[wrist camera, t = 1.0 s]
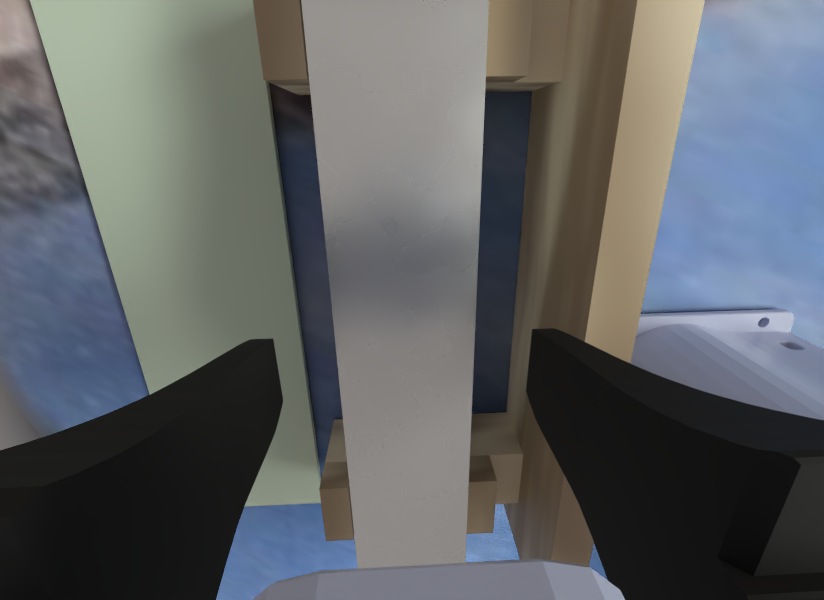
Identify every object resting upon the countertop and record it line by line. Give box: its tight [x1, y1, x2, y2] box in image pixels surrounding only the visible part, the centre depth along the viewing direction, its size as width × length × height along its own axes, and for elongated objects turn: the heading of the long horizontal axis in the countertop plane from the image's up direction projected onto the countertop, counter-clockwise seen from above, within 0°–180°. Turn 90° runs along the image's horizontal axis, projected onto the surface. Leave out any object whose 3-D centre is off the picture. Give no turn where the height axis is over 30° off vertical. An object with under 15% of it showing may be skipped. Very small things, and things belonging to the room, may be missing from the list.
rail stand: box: [253, 0, 705, 567], centre depth 15 cm, size 10×26×7 cm, turn 1°
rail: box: [301, 0, 489, 569], centre depth 14 cm, size 4×22×4 cm, turn 1°
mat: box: [30, 0, 321, 507], centre depth 18 cm, size 8×26×1 cm, turn 1°
